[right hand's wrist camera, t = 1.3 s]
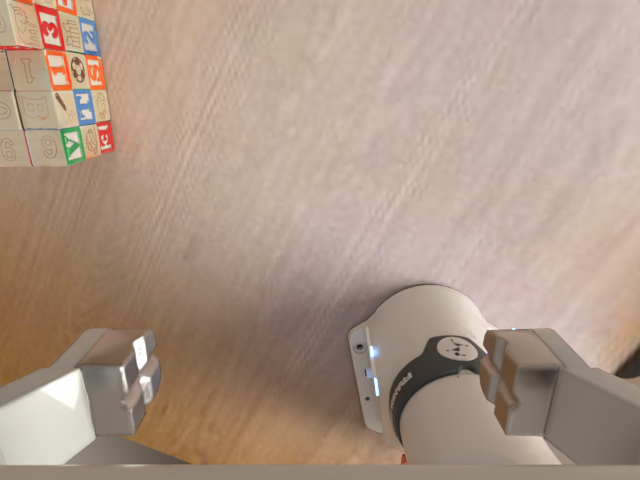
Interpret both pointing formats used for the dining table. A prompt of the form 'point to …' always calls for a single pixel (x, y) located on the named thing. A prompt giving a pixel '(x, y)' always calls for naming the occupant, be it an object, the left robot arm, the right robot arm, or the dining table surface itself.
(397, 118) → the dining table surface
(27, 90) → the stack of blocks
